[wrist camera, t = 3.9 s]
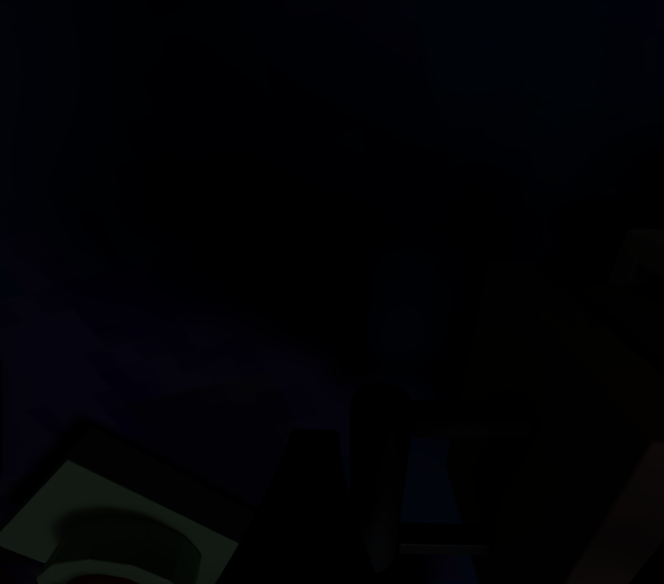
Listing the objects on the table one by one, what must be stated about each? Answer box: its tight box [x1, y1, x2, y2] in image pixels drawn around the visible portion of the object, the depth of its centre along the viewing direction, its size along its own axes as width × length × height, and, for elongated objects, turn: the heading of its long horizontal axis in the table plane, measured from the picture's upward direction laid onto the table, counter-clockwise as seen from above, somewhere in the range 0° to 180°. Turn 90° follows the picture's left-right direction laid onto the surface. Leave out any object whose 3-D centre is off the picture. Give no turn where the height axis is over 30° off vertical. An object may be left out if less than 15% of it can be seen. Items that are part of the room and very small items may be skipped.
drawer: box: [350, 260, 664, 584], centre depth 10 cm, size 15×9×6 cm, turn 91°
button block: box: [0, 427, 255, 584], centre depth 17 cm, size 11×9×4 cm
